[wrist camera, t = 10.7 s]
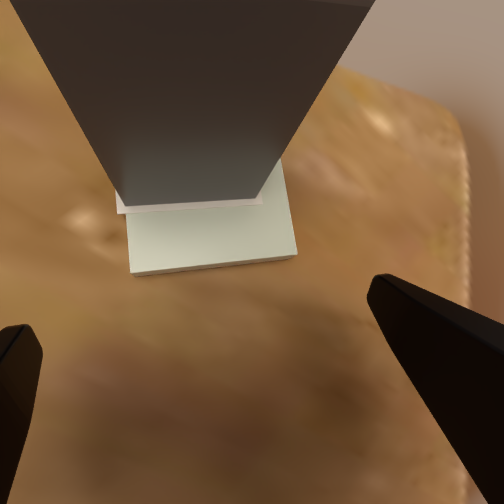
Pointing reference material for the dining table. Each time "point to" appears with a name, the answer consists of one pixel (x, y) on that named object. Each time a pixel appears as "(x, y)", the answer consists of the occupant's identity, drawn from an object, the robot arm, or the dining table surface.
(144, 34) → the block
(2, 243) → the dining table surface
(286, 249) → the board
